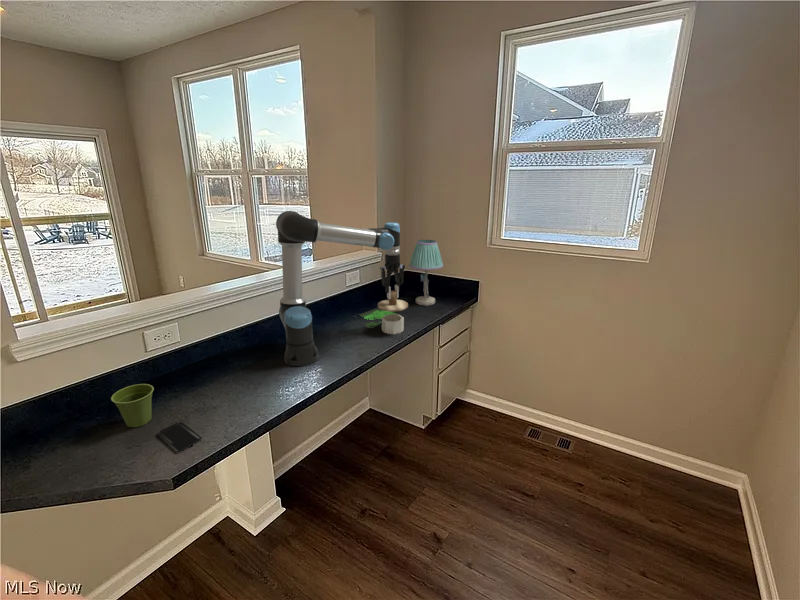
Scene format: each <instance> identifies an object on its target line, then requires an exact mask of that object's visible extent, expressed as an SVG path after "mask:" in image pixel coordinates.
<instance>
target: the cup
mask: <svg viewBox="0 0 800 600" xmlns="http://www.w3.org/2000/svg"><path fill="white" fill-rule="evenodd" d="M401 315H402V314H400V315H396V314H389V315H384V316H383V317H382V325H381V331H382V332H383V333H385V334H386V333H387V335H398V334H402V333H401V332H403V331H404V330H405V329H404V328H405V317H404V316H403V315H402V316H403V317H402V316H401ZM397 333H398V334H397Z"/></svg>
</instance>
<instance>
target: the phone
mask: <svg viewBox="0 0 800 600" xmlns="http://www.w3.org/2000/svg"><path fill="white" fill-rule="evenodd" d="M156 434H157V437H158V436H159V437H158V438H159V439H161V441H162V442H164V441H165V442H166V443H167V444H168V445H169V448H171V449H172V450H173V449H174V450H175V451H176V452H181V451H183V450H185V449H187V448H189V447H191V445H193V444H195V443H197V442H199V441H201V439H202V440H203V437H202V436H201V435H200V434H198V433H197V432H195V431H194V430H193V429H191V428H190V427H189V426H188V425H186V424H185V423H184V422H182V421H178V422H176V423H173V424H172V425H170V426H167V427H165V428H163V429H161V430H159V431H158V432H157V433H156ZM165 442H164V443H165ZM201 442H202V441H201ZM166 443H165V444H166ZM167 444H166V445H167ZM168 445H167V446H168ZM174 450H173V451H174ZM187 450H188V449H187ZM175 451H174V452H175ZM185 451H186V450H185ZM176 452H175V453H176ZM183 452H184V451H183ZM181 453H182V452H181Z"/></svg>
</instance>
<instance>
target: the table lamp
mask: <svg viewBox="0 0 800 600" xmlns="http://www.w3.org/2000/svg"><path fill="white" fill-rule="evenodd" d="M410 258H411V259H410V263H409V264H408V266H409V267H410V268H413V269H415V270H424V272H423V273H421V274H420V282H423V289H422V291H423V294H424V295H423V296H417V297H416V298H415V304H418V305H419V306H432V305H434V304H435V303H436V298H435V297H433V296H430V295H429V282H430V280H429V279H428V275H429V271H431V270H438V269H443V267H444V264H443V259H442V255H441V252H440V247H439V246H438V242H437V240H434V239H419V240H417V241H416V244H415V247H414V249H413V253H412V254H411V257H410Z"/></svg>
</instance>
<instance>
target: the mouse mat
mask: <svg viewBox="0 0 800 600" xmlns="http://www.w3.org/2000/svg"><path fill="white" fill-rule="evenodd" d="M389 314H396V315H401V316H402V317H404V316H403V315H402V314H399V313H396V312H389V311H383V310H380V309H379V308H378V307H376V308H374V309H373V308H372V309H370V310H368V311H365V312H362V313H358V314H357V315H360V316H362V317H364V319H367V320H368V319H369V320H376V319H380V320H381V319H382V317H383V316H384V315H389ZM353 316H354V317H356V316H355V315H352V316H350V317H353ZM356 318H357V317H356ZM374 322H375V321H374ZM374 322H370V323H365V324H366V326H367V327H370V328H372V327H373V328H372V329H375V328H377V325H378V323H382V322H381V321H380V322H378V323H374ZM373 323H374V324H373ZM374 327H375V328H374Z"/></svg>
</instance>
